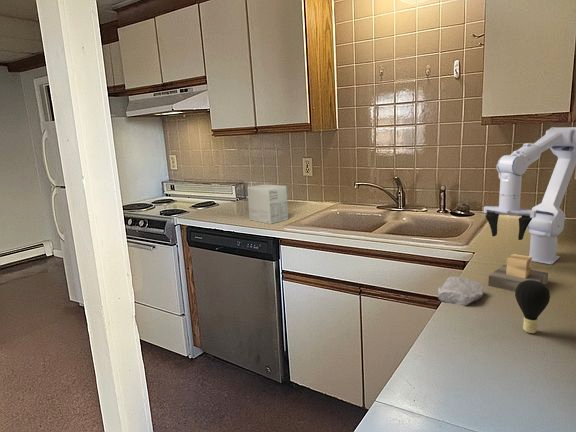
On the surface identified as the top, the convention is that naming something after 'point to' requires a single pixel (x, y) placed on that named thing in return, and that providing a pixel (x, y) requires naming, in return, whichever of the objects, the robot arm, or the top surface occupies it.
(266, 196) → the supplement box
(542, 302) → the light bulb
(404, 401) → the top surface
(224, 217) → the top surface
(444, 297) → the stone block
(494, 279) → the base block
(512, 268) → the maple cube
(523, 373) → the top surface
